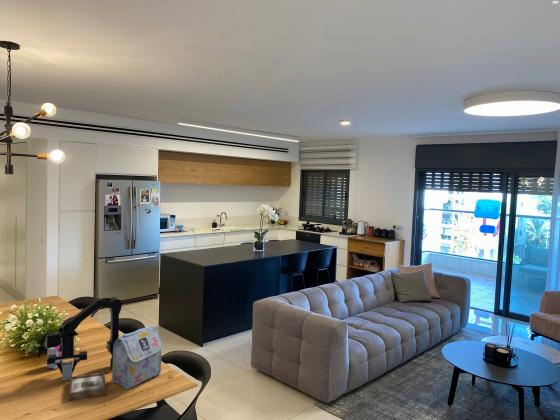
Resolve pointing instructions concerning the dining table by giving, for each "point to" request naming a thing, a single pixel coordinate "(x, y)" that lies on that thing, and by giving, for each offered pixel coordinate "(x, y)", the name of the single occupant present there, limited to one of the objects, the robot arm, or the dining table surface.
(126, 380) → the lunch bag
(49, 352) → the supplement box
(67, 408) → the dining table surface
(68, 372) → the peg
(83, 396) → the shallow tray
